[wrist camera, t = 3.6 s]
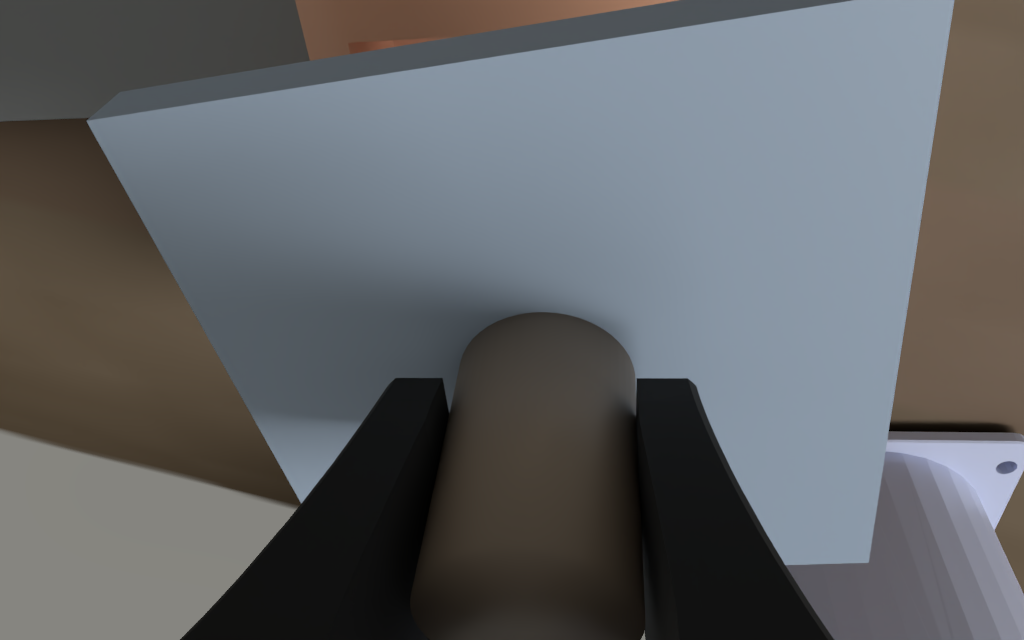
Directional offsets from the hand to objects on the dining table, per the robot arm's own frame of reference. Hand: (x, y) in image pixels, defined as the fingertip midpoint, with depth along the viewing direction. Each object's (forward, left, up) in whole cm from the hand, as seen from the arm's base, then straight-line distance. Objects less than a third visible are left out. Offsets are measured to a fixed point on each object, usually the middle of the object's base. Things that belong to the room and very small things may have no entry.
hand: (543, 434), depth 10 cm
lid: (0, 0, -2) cm, 2 cm away
